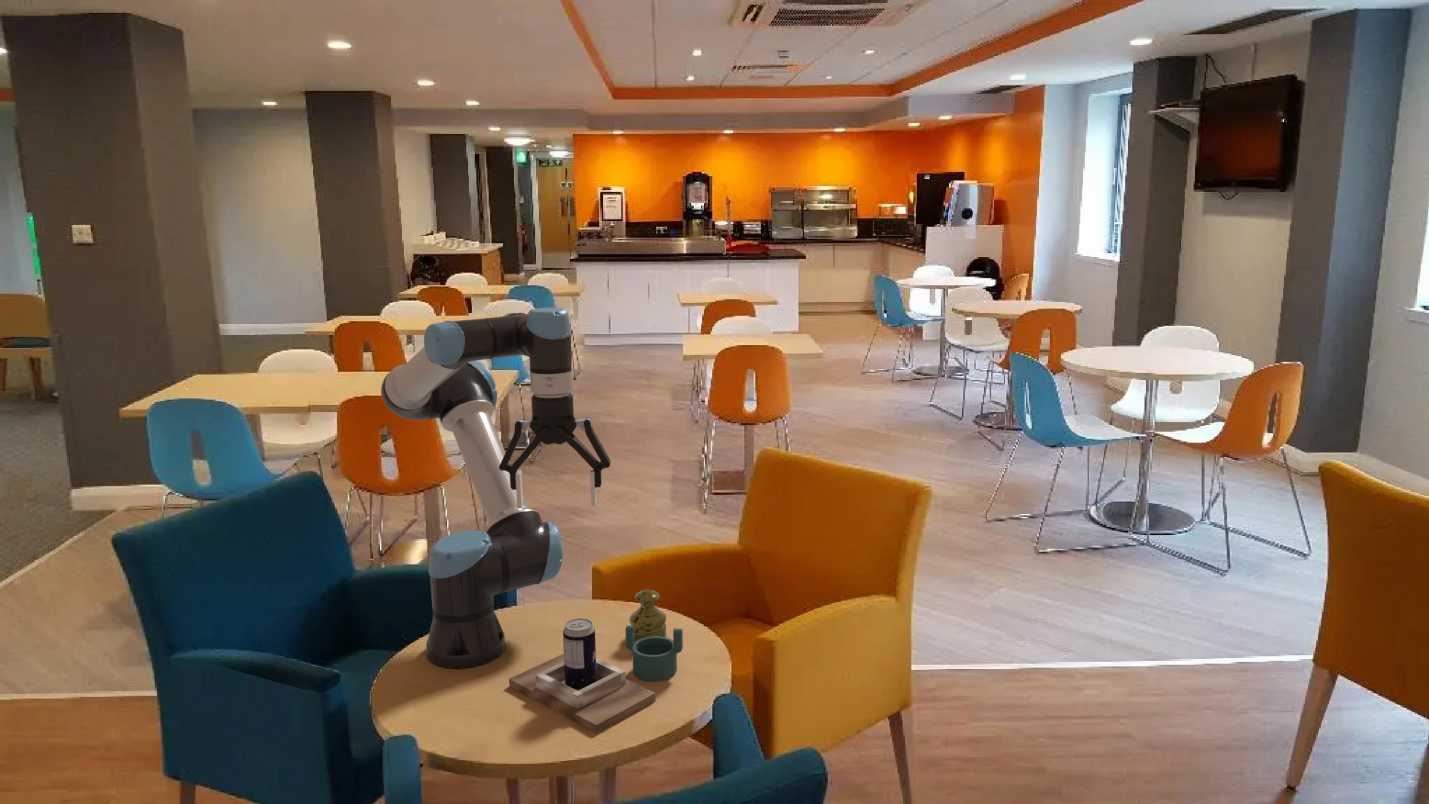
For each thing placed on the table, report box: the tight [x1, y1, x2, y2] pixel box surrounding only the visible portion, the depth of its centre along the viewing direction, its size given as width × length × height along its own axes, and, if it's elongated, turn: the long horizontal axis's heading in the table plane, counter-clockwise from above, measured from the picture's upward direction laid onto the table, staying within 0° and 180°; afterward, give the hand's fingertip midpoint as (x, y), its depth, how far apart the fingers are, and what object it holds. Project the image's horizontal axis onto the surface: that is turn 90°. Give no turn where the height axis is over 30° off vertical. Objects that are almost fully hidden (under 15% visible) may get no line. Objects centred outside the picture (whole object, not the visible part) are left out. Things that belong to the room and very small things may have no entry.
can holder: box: [508, 653, 657, 734], centre depth 175 cm, size 24×14×4 cm, turn 49°
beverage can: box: [562, 617, 597, 691], centre depth 174 cm, size 6×6×12 cm
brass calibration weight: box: [629, 588, 667, 642], centre depth 197 cm, size 7×7×10 cm
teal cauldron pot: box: [625, 625, 684, 683], centre depth 183 cm, size 9×9×9 cm
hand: (557, 504), depth 181 cm, fingers open, 13 cm apart
